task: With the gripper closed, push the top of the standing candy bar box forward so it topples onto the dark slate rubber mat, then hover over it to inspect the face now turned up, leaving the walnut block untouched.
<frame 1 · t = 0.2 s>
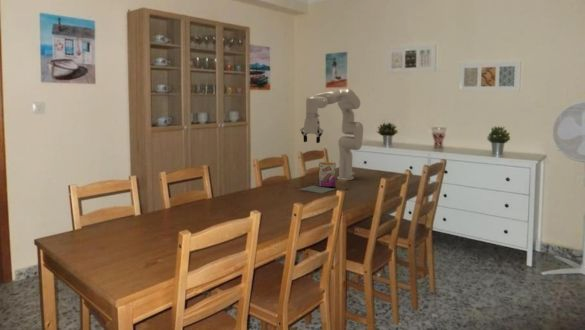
hand: (311, 142, 290), 31 cm above the table, fingers open, 9 cm apart
walnut block: (341, 189, 293), on the table
candy bar box: (326, 186, 299), on the table, touching slate mat
slate mat: (317, 189, 290), on the table
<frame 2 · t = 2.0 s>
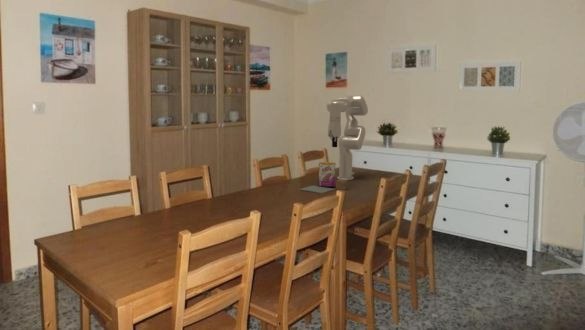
hand: (334, 146, 302), 27 cm above the table, fingers closed
nothing on the table moved.
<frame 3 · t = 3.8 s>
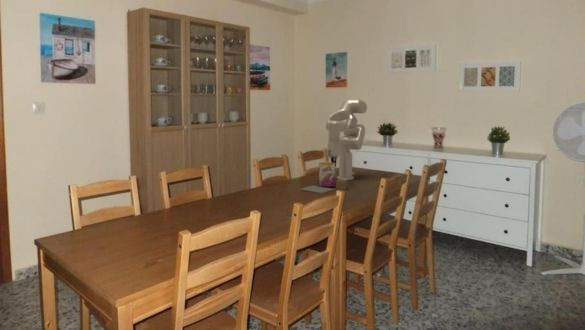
hand: (333, 166, 303), 13 cm above the table, fingers closed
candy bar box: (326, 186, 299), on the table, touching gripper, slate mat
everything else where it was.
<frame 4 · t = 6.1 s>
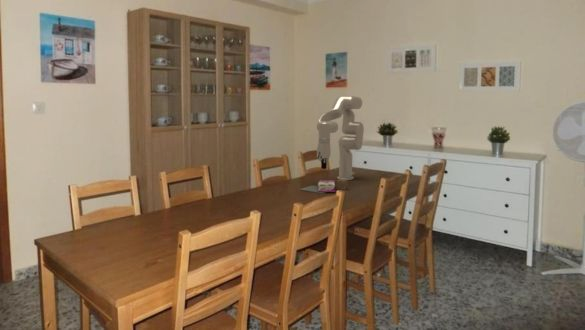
hand: (323, 168, 294), 13 cm above the table, fingers closed
candy bar box: (326, 183, 297), point 3 cm above the table, touching slate mat
everything else where it was.
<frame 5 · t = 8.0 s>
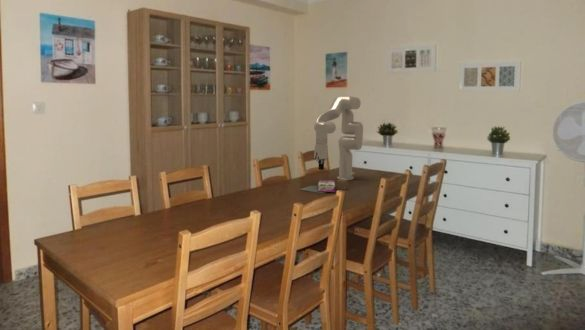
hand: (321, 169, 292), 13 cm above the table, fingers closed
nothing on the table moved.
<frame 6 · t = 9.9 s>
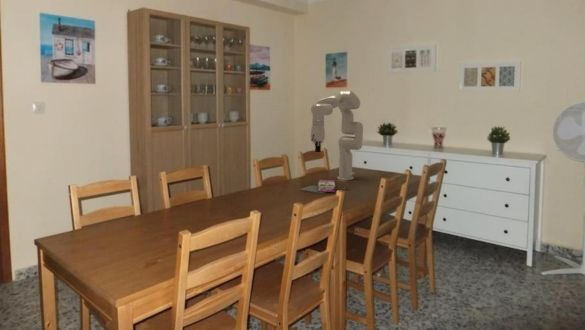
hand: (317, 151, 287), 25 cm above the table, fingers closed
nothing on the table moved.
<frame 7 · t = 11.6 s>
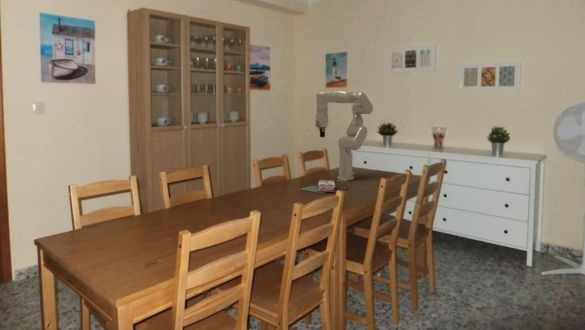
hand: (322, 137, 306), 33 cm above the table, fingers closed
nothing on the table moved.
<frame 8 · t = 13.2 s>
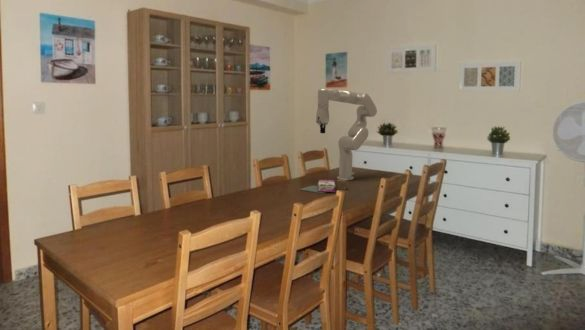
hand: (322, 133, 310), 35 cm above the table, fingers closed
nothing on the table moved.
at the end: candy bar box tilted 89°; candy bar box inside the target area (5.8 cm from its centre), point 3.0 cm above the table; walnut block moved 0.1 cm from its start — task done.
